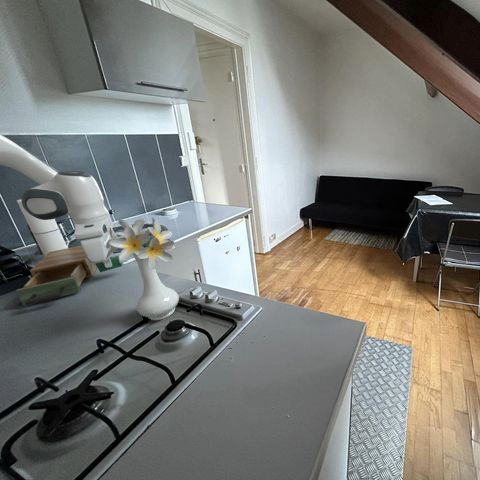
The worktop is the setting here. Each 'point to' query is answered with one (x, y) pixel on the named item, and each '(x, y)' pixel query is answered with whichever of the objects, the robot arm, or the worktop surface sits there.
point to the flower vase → (147, 264)
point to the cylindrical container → (44, 232)
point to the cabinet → (65, 260)
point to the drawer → (53, 283)
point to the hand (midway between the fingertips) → (110, 264)
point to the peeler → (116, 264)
